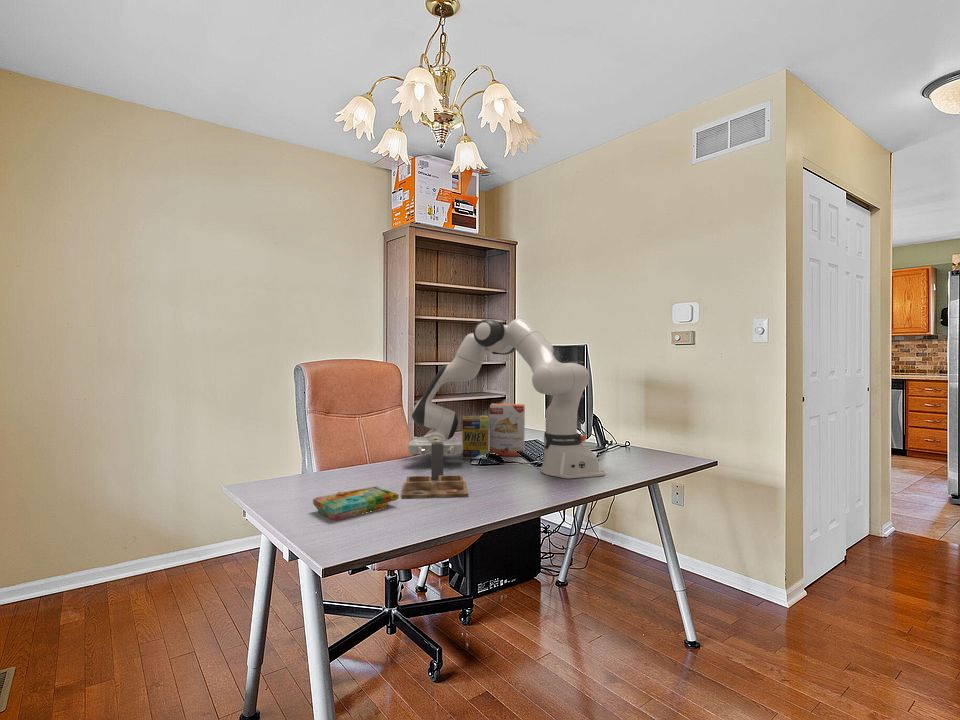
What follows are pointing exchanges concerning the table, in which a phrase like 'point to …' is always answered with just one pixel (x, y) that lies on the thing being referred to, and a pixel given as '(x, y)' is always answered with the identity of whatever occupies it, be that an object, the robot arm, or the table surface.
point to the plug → (436, 459)
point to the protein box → (475, 436)
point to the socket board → (434, 487)
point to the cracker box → (507, 429)
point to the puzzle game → (354, 502)
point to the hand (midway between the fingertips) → (436, 451)
